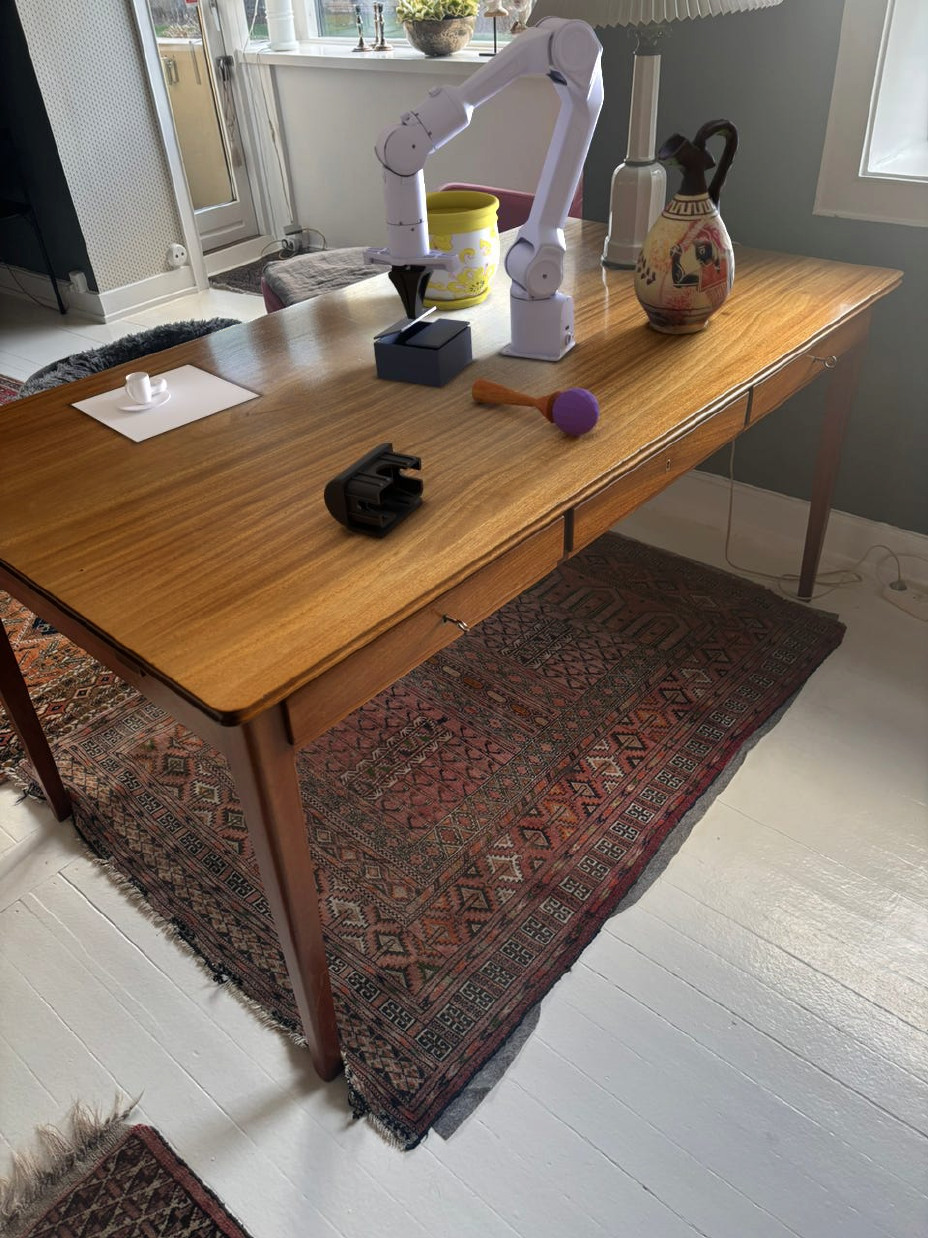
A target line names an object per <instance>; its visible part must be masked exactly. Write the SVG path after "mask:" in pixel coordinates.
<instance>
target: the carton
mask: <svg viewBox="0 0 928 1238" xmlns="http://www.w3.org/2000/svg"><path fill="white" fill-rule="evenodd" d="M470 324H471V321H467V320H458V319H451V318H443V317H442V318H441V317H439V318H437V319H436V320H434V321H426V320H419V321H417V322H416V323H414V324H413V325H411V326H410V327H409V328H407V329H406V330H404V331H403V332H400V333H396V334H393V335H389V336H386V337H382V338H379V339H376V340H375V341H374V342H373V351H374V360H375V361H374V362H375V370H376V378H377V379H384V380H388V381H389V380H390V381H397V382H404V383H410V384H416V385H417V384H418V385H425V386H432V387H439V388H441V387H443V386H444V385H445V384H446V383H448V382H449V381H450V380H451V379H453V378H454V377H455V376H456V375H457V374H459V373H460V372H461V371H462V370H464V369H465V368H466V367H467V366H468V365H469V364H471V363H472V362H473V343H472V326H470Z"/></svg>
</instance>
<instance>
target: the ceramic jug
mask: <svg viewBox="0 0 928 1238" xmlns="http://www.w3.org/2000/svg"><path fill="white" fill-rule="evenodd" d="M739 134H740V133H739V130H738V127H737V126H736V125H735V124H734V123H733V122H732V121H730V120H728V119H727V118H718V119H712V120H710V121H707V122H705V123H704V124H703V125H702V126H701V127H700V128H699V129H698V130H697V132H696V134H695V137H694V139H693V141H691V140H689V138H687V137H685V136H684V135H683V134H682V133H680V132H674V133H673V134H672V135H670V136H669V137H668V138H667V139H666V140H665V141H664V142H663V144H662V145H661V147H660V148H659V150H658V152H657V157H656V158H657V159H656V160H657V161H658V162H659V163H660V164H664V165H666V166H669V167H672V168H674V169H676V170H678V171H679V172H680V173H681V174H682V179H681V182H680V188H679V189H678V190H677V191H676V193H675V195H674V196H673V198H671V200H670V201H669V203H668V204H667V205H666V206H665V207H664V209H663V210H662V211H661V213H660V214H659V216H658V217H657V219H656V221H655V222H654V224H653V225H652V226H651V228H650V230H649V231H648V232H647V235H646V237H645V239H644V241H643V242H642V245H641V248H640V250H639V252H638V257H637V261H636V264H635V268H634V272H633V286H634V287H633V288H634V293H635V296H636V298H637V301H638V303H639V304H640V306H641V307H642V309H643V311H644V312H645V314H646V316H647V318H648V320H649V328H650V329H653V330H654V329H655V330H656V331H659V332H661V333H664V334H669V335H682V334H693V333H697V332H700V331H701V330H703V329H704V328H706V327H707V325H708V323H709V320H710V318H711V317H712V316H713V315H714V314H715V313H716V312H717V311H718V310H719V309H720V308H721V307H722V306H723V305H724V304H725V303H726V301H727V299H728V297H729V296H730V294H731V292H732V289H733V286H734V280H735V255H734V249H733V245H732V241H731V237H730V236H729V234H728V232H727V228H726V226H725V223H724V221H723V219H722V217H721V215H720V203H721V194H722V191H723V188H724V186H725V185H726V183H727V179H728V175H729V173H730V170H731V168H732V166H733V163H734V160H735V157H736V155H737V154H738V148H739V140H740V136H739ZM714 136H720V137H723V138H724V139H725V145H724V148H723V152H722V155H721V157H720V159H719V162H718V165H717V164H716V160H715V158H714V156H713V154H712V152H711V150H710V149H709V148H707V142H708V140H709V139H710V138H712V137H714ZM716 166H717V167H716ZM715 167H716V168H717V169H716V172H715V173H714V175H713V177H712V179H711V181H710V184H709V186H707V181H706V171H708V170H710V169H713V168H715Z"/></svg>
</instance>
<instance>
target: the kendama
mask: <svg viewBox="0 0 928 1238" xmlns="http://www.w3.org/2000/svg"><path fill="white" fill-rule="evenodd" d="M471 397H472V399H473V401H474V402H475V403H481V404H494V405H495V404H496V405H507V406H519V407H529V408H530V407H531V408H535V409H536V410H537V411H538V412H539V413H540V414H541V416H543V417H544V418H545V419H546V421H548V422H549V423H550V424H555V426H556V427H557V428H558V429H559V430H560V431H562V432H563V433H564V434H566V435H570V436H575V437H576V436H582V435H585V434H587V433H589V432H590V431H591V430H592V429H593V428H595V426H596V425H597V423H598V421H599V419H600V414H601V411H600V406H599V403H598V400H597V398H596V396H594V395H593V393H592V392H590V391H589V390H588V389H585V388H580V387H579V388H578V387H571V388H568V389H566V390H564V391H560V390H557V391H554V392H551V393H549V394H546V395H545V394H544V395H543V396H539V397H538V398H536V397H533V396H531V395H528V394H525V393H523V392H520V391H517V390H515V389H512V388H509V387H506V386H505V385H501V384H499V383H496V382H493V381H491V380H488V379H485V378H481V377H480V378H478V379H476V381H475V382H474V383H473V385H472V389H471Z"/></svg>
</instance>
